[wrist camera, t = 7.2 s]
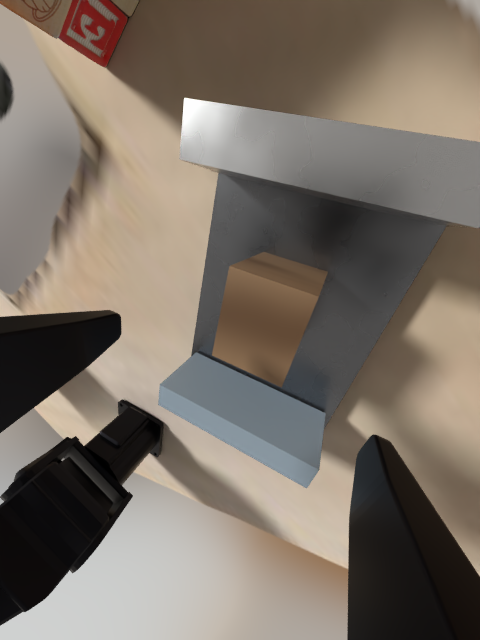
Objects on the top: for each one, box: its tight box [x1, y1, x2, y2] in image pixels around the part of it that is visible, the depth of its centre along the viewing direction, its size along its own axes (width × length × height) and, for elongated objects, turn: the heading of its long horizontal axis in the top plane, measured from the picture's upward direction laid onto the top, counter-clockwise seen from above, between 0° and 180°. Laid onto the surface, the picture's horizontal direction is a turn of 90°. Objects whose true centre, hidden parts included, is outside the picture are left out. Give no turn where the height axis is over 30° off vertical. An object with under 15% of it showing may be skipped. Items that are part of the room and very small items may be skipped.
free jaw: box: [158, 352, 326, 488], centre depth 17 cm, size 2×11×4 cm, turn 74°
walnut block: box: [212, 252, 328, 387], centre depth 13 cm, size 5×4×5 cm
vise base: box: [179, 98, 480, 428], centre depth 14 cm, size 18×12×6 cm, turn 164°
